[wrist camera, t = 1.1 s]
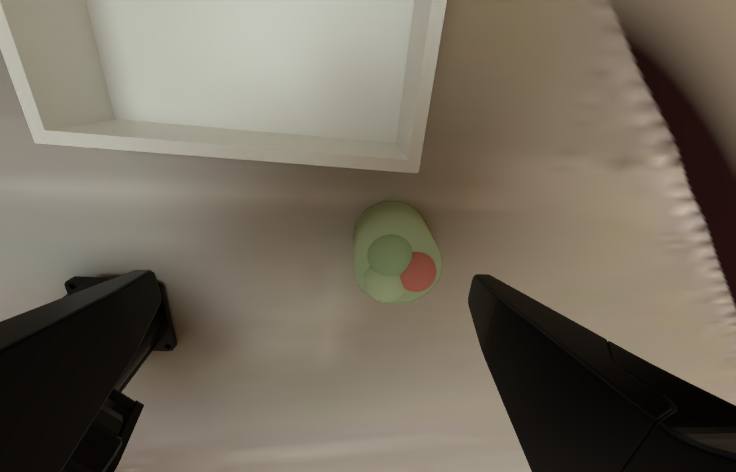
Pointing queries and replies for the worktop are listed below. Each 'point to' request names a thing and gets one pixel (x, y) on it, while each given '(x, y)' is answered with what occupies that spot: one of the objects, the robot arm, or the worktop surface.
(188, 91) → the serving bin
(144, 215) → the worktop surface
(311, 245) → the worktop surface
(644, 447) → the robot arm
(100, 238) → the worktop surface
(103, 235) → the worktop surface
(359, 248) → the salad portion
